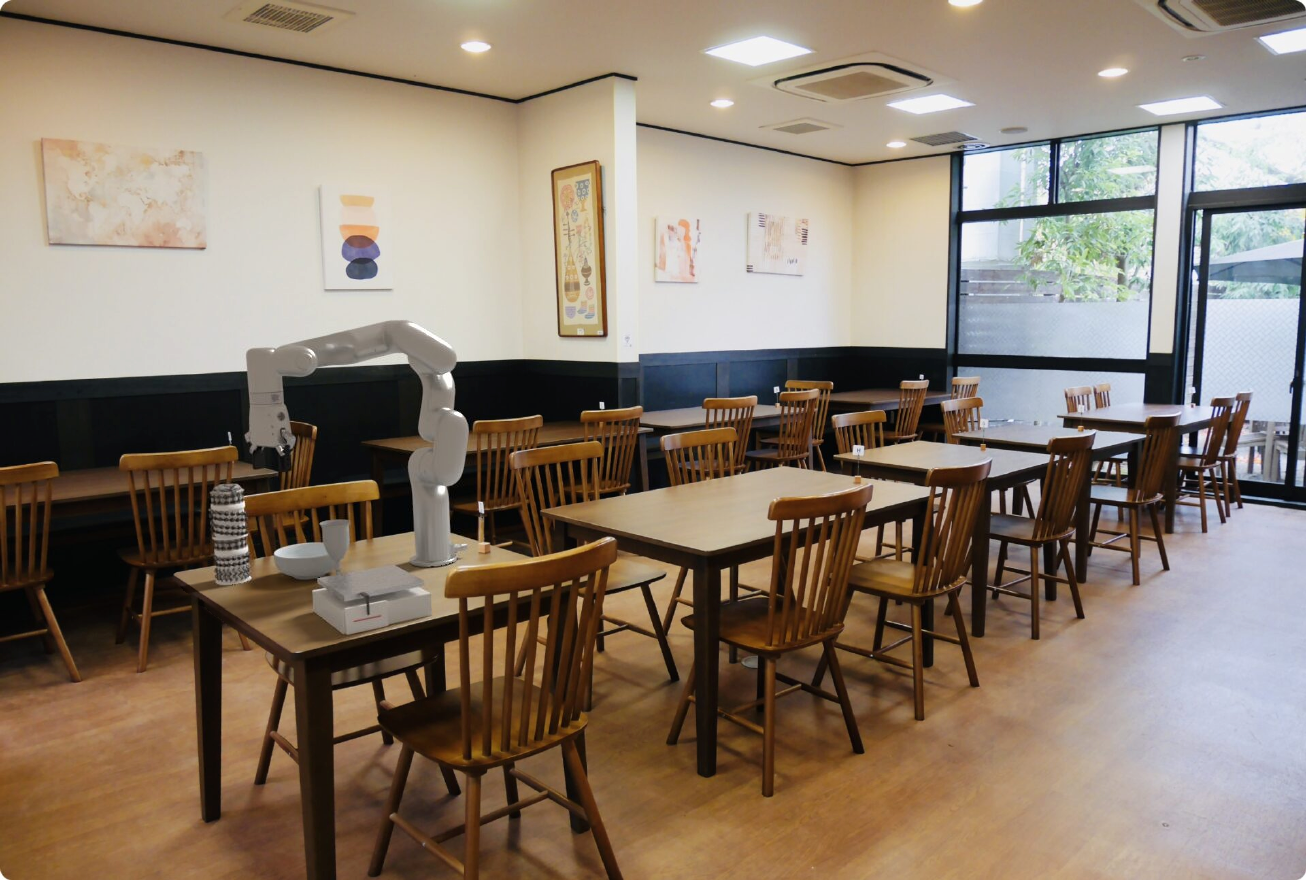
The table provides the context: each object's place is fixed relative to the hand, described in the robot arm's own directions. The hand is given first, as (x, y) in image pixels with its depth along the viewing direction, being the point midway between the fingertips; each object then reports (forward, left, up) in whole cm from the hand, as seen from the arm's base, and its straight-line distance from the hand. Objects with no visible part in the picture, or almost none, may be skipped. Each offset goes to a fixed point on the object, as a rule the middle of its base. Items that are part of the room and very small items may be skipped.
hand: (272, 470), depth 223 cm
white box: (-12, +32, -28) cm, 44 cm away
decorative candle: (+6, -20, -31) cm, 37 cm away
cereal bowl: (-11, -12, -31) cm, 35 cm away
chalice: (-11, +11, -31) cm, 34 cm away
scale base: (-12, +30, -31) cm, 45 cm away
